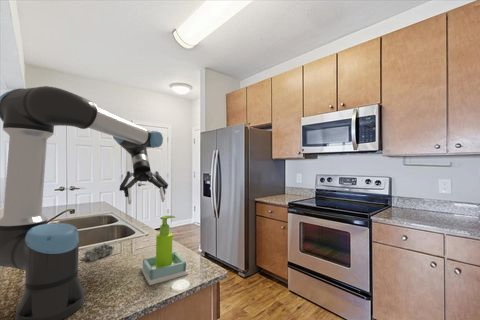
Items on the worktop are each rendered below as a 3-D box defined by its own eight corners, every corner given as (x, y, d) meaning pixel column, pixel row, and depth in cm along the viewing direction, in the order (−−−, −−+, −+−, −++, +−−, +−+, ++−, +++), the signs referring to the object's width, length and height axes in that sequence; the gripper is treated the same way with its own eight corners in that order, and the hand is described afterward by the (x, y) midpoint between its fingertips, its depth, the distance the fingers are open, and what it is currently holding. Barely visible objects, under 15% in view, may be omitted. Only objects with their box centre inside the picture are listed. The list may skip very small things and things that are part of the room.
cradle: (149, 285, 78) (149, 273, 78) (140, 269, 90) (141, 258, 90) (188, 274, 86) (188, 263, 86) (175, 260, 98) (175, 250, 98)
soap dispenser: (177, 267, 89) (178, 216, 89) (160, 273, 84) (161, 219, 84) (169, 262, 93) (170, 213, 93) (153, 268, 88) (154, 216, 88)
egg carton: (92, 262, 95) (92, 253, 95) (81, 259, 99) (81, 249, 99) (115, 253, 105) (115, 244, 105) (105, 250, 108) (105, 241, 108)
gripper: (165, 170, 120) (174, 204, 107) (111, 170, 106) (113, 209, 93) (168, 160, 115) (178, 194, 103) (112, 159, 101) (115, 197, 89)
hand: (147, 201), depth 98 cm, fingers open, 13 cm apart
